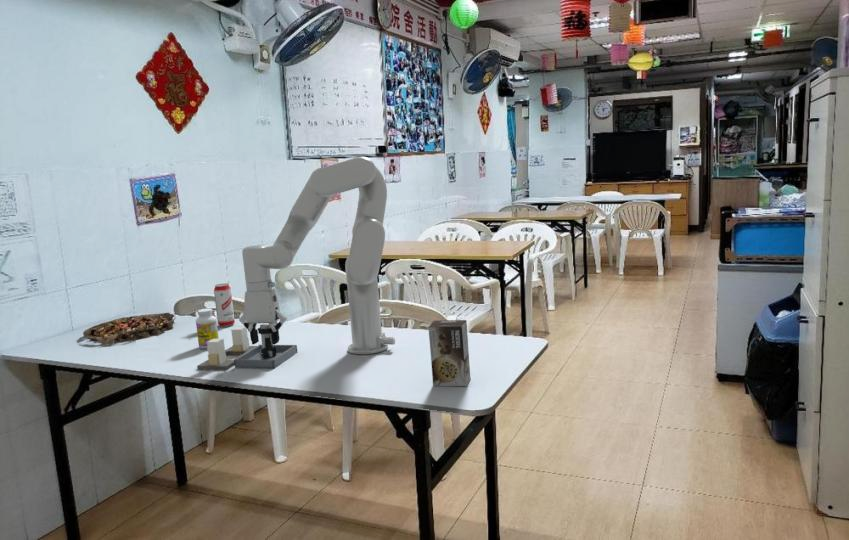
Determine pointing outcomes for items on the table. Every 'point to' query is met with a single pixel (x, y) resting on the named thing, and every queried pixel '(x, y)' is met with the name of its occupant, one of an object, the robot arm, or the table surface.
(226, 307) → the beer can
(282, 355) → the tray
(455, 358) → the printed cardboard box
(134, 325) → the food dish
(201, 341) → the supplement bottle
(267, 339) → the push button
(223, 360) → the block
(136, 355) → the table surface
